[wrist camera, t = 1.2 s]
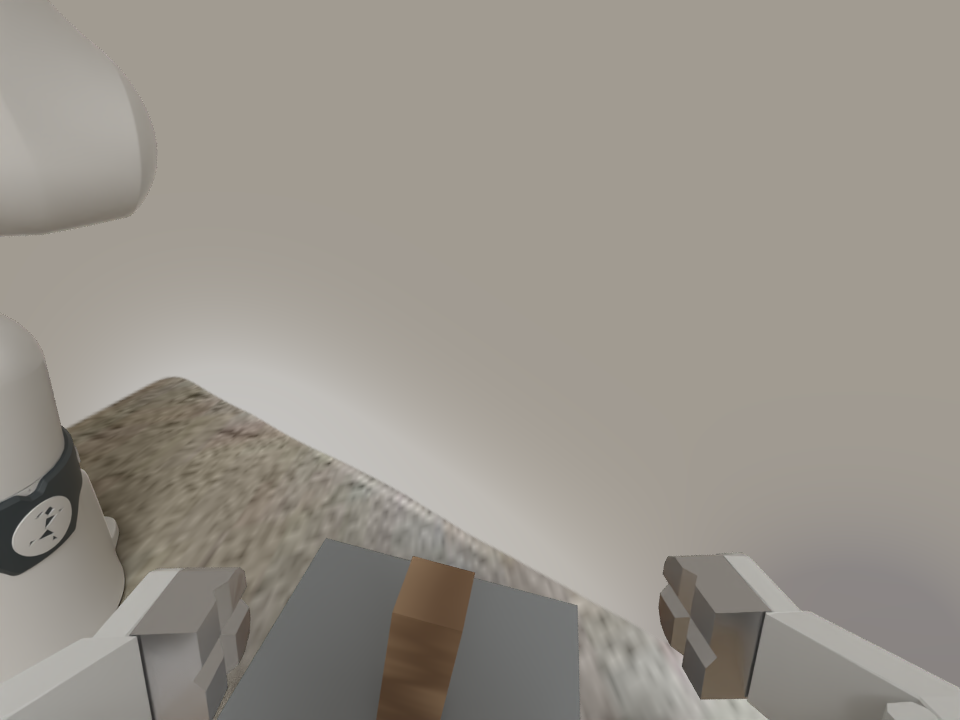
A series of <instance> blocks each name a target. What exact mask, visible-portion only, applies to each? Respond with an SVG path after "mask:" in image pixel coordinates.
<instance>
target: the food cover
mask: <svg viewBox="0 0 960 720" xmlns="http://www.w3.org/2000/svg"><path fill="white" fill-rule="evenodd" d="M474 575H475V573H474V572H471V571H467V570H463V569H459V568H456V567H452V566H448V565H444V564H441V563H437V562H433V561H429V560H426V559H422V558H418V557H414V556H413V557H412V560H411V561H410V560H406V559H402V558H398V557H395V556H391V555H387V554H383V553H380V552H376V551H372V550H368V549H365V548H361V547H357V546H354V545H350V544H346V543H342V542H339V541H335V540H331V539H327V538H326V539H325V541H324V542H323V544H322V546H321V547H320V549H319V551H318V552H317V554H316V556H315V557H314V559H313V561H312V562H311V564H310V566H309V567H308V569H307V570H306V572H305V574H304V575H303V577H302V579H301V580H300V582H299V584H298V585H297V587H296V589H295V590H294V592H293V594H292V595H291V597H290V599H289V600H288V602H287V604H286V605H285V607H284V609H283V610H282V612H281V614H280V615H279V617H278V619H277V620H276V622H275V624H274V625H273V627H272V629H271V630H270V632H269V634H268V635H267V637H266V639H265V640H264V642H263V644H262V645H261V647H260V649H259V650H258V652H257V653H256V655H255V657H254V658H253V660H252V662H251V663H250V665H249V667H248V668H247V670H246V672H245V673H244V675H243V677H242V678H241V680H240V682H239V683H238V685H237V687H236V688H235V690H234V692H233V693H232V695H231V697H230V698H229V700H228V702H227V703H226V705H225V707H224V708H223V710H222V712H221V713H220V715H219V717H218V718H217V720H580V693H579V650H578V607H577V605H574V604H570V603H566V602H563V601H559V600H555V599H551V598H548V597H544V596H540V595H536V594H533V593H529V592H525V591H522V590H518V589H514V588H510V587H507V586H503V585H499V584H495V583H492V582H488V581H484V580H480V579H477V578H474Z"/></svg>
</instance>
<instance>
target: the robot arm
mask: <svg viewBox="0 0 960 720" xmlns="http://www.w3.org/2000/svg"><path fill="white" fill-rule="evenodd" d="M156 168H157V143H156V137H155V132H154V128H153V125H152V122H151V119H150V116H149V114H148V111H147V109H146V107H145V105H144V103H143V101H142V99H141V97H140V96H139V94H138V92H137V91H136V89H135V88H134V86H133V85H132V83H131V82H130V80H129V79H128V78H127V76H126V75H125V74H124V73H123V72H122V71H121V69H120V68H119V67H118V66H117V65H116V64H115V63H114V62H113V61H112V60H111V58H110V57H109V56H107V55H106V54H105V53H104V52H103V51H102V50H101V49H100V48H98V47H97V46H96V45H95V44H94V43H92V42H91V41H90V40H89V39H88V38H86V37H85V36H84V35H83V34H82V33H81V32H80V31H79V30H78V29H76V28H75V27H74V26H73V25H72V24H71V23H70V22H69V21H68V20H67V19H66V18H65V17H64V16H63V15H62V14H61V13H60V12H59V11H58V10H57V9H56V8H55V7H54V6H53V5H52V4H51V3H50V1H49V0H0V237H1V236H28V235H44V234H50V233H55V232H60V231H65V230H70V229H75V228H80V227H86V226H90V225H95V224H99V223H104V222H108V221H112V220H117V219H121V218H126V217H129V216H131V215H132V214H133V213H134V212H135V211H136V210H137V209H138V208H139V207H140V205H141V204H142V203H143V201H144V200H145V198H146V196H147V195H148V193H149V191H150V188H151V186H152V184H153V180H154V177H155V173H156ZM79 462H81V461H80V457H79V454H78V450H77V448H76V446H75V445H74V443H73V440H72V438H71V435H70V434H69V432H68V431H67V430H66V429H65V428H64V427H63V426H61V423H60V419H59V415H58V411H57V407H56V403H55V400H54V394H53V390H52V386H51V382H50V378H49V374H48V370H47V365H46V361H45V357H44V354H43V350H42V349H41V347H40V345H39V343H38V342H37V340H36V339H35V338H34V336H33V335H32V334H31V333H30V332H28V330H26V329H25V328H24V327H23V326H22V325H21V324H19V323H18V322H16V321H15V320H13V319H11V318H9V317H8V316H6V315H4V314H2V313H0V720H213V718H214V716H215V714H216V711H217V709H218V707H219V705H220V703H221V701H222V699H223V697H224V695H225V693H226V690H227V688H228V684H227V676H226V674H228V673H229V672H230V671H231V670H232V669H234V668H235V667H236V666H237V665H239V663H240V661H241V658H242V656H243V654H244V652H245V649H246V645H247V641H248V637H249V633H250V610H249V606H248V605H247V604H246V603H245V602H244V601H243V600H242V599H241V597H242V595H243V593H244V591H245V589H246V587H247V584H246V577H245V571H244V570H242V569H241V568H240V567H227V568H157V569H155V570H153V571H150V572H149V573H148V574H147V575H146V576H145V577H144V579H143V580H142V581H141V582H140V583H139V584H138V586H137V587H136V588H135V589H134V590H133V591H132V592H131V594H130V595H129V596H128V597H127V598H126V599H125V600H124V602H123V603H122V604H121V605H120V606H119V607H118V605H119V603H120V600H121V597H122V594H123V590H124V582H125V578H124V571H123V567H122V565H121V563H120V561H119V559H118V557H117V554H116V550H115V548H116V545H117V541H118V536H119V528H118V525H117V523H116V521H115V519H113V518H111V517H107V516H104V515H103V512H102V510H101V507H100V505H99V502H98V499H97V497H96V494H95V492H94V489H93V487H92V484H91V482H90V479H89V477H88V475H87V473H86V472H85V471H84V470H83V469H81V468H80V465H79ZM663 575H664V576H665V578H666V580H667V581H668V583H669V584H668V585H667V586H666V587H665V588H664V590H663V591H662V592H661V593H660V600H659V614H660V622H661V625H662V628H663V631H664V634H665V636H666V638H667V640H668V642H669V644H670V646H671V647H673V648H674V649H675V650H677V651H678V652H680V653H681V654H682V655H684V657H683V663H682V667H683V669H684V671H685V673H686V675H687V676H688V678H689V680H690V682H691V683H692V685H693V687H694V689H695V691H696V692H697V694H698V696H699V698H700V699H747V701H748V702H749V703H750V704H751V705H752V706H753V707H755V708H756V709H757V710H758V711H759V712H761V713H762V714H763V715H764V716H765V717H766V718H768V719H769V720H960V688H958V687H957V686H955V685H953V684H951V683H949V682H947V681H945V680H943V679H941V678H939V677H937V676H935V675H933V674H931V673H929V672H927V671H926V670H924V669H921V668H920V667H918V666H916V665H914V664H912V663H910V662H908V661H906V660H904V659H902V658H900V657H898V656H896V655H894V654H892V653H890V652H888V651H886V650H884V649H883V648H881V647H878V646H877V645H875V644H873V643H871V642H869V641H867V640H865V639H863V638H861V637H859V636H857V635H855V634H853V633H851V632H849V631H847V630H845V629H843V628H841V627H840V626H838V625H836V624H834V623H832V622H830V621H828V620H826V619H824V618H822V617H820V616H818V615H816V614H814V613H812V612H810V611H801V610H800V609H799V608H798V607H797V606H796V605H795V604H794V603H793V602H792V601H791V600H790V599H789V598H788V597H787V596H786V595H785V594H784V593H783V592H782V591H781V589H779V587H778V586H777V585H776V584H775V583H774V582H773V581H772V580H771V579H770V578H769V577H768V576H767V575H766V574H765V573H764V572H763V571H762V570H761V568H760V567H759V566H758V565H757V564H756V563H755V562H754V561H753V560H752V559H751V558H750V557H749V556H748V555H745V554H744V553H741V552H739V553H722V554H716V555H694V556H693V555H691V556H668V557H667V559H666V561H665V564H664V570H663ZM117 607H118V609H117ZM116 609H117V610H116Z"/></svg>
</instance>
